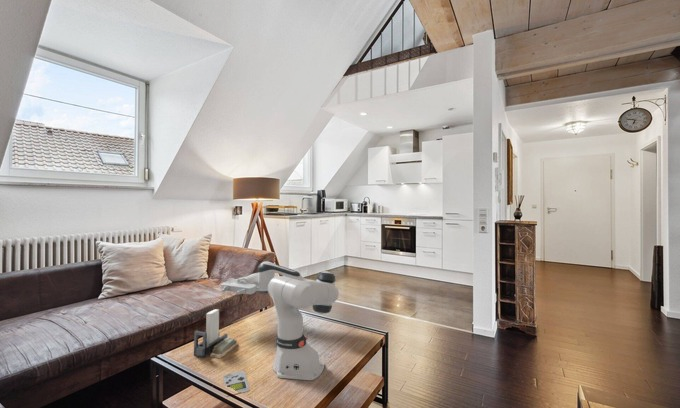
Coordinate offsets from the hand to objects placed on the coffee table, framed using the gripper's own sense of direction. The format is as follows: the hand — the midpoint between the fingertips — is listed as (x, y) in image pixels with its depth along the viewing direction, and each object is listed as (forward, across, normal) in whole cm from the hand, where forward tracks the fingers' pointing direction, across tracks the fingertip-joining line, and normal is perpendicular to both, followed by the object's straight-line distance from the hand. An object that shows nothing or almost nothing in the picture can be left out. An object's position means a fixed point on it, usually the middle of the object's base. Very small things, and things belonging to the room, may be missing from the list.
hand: (229, 291), depth 161 cm
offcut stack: (+13, -8, -24) cm, 29 cm away
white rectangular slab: (+13, 0, -24) cm, 27 cm away
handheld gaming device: (+33, -29, -24) cm, 50 cm away
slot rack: (+13, 0, -24) cm, 27 cm away
